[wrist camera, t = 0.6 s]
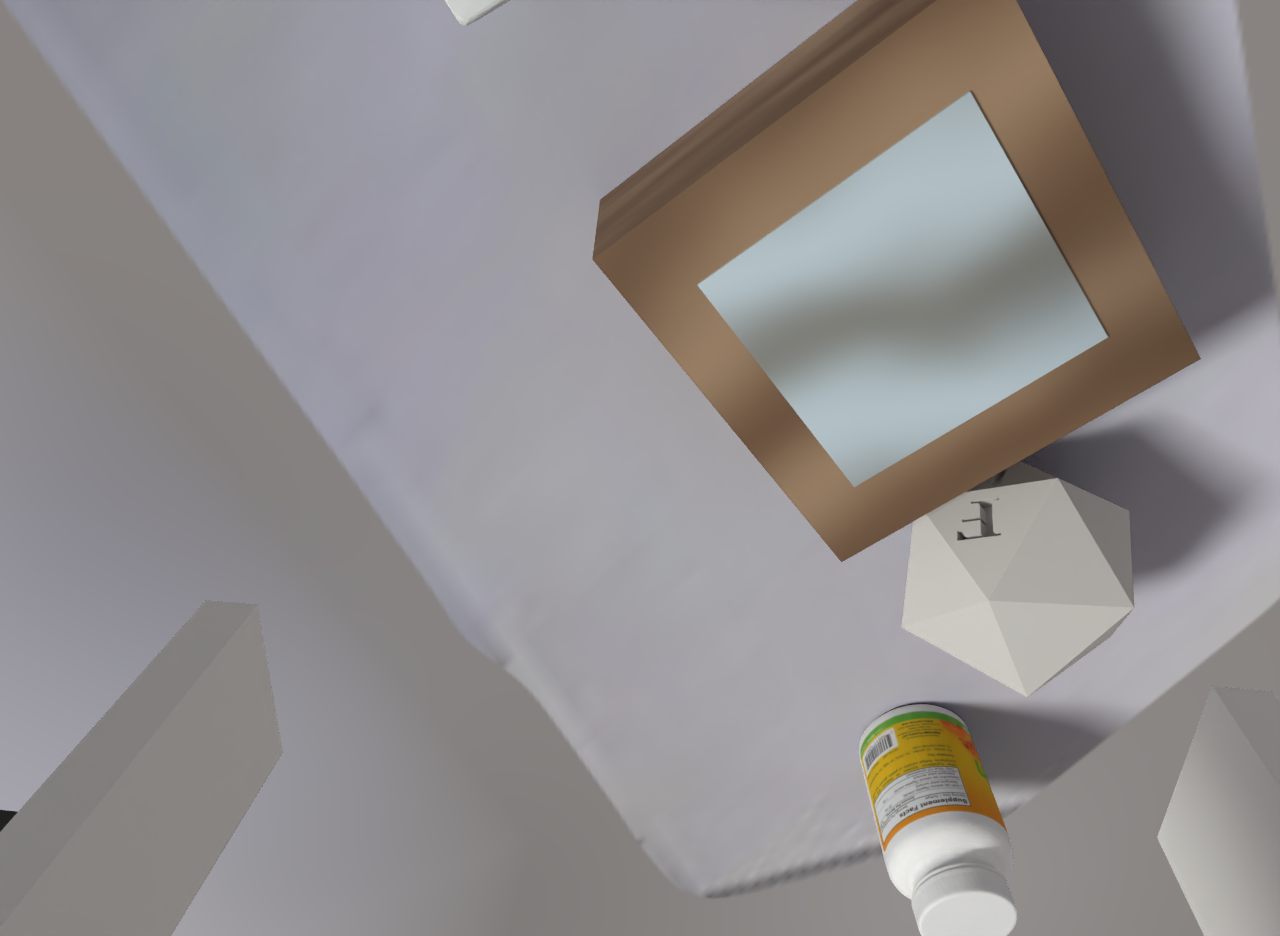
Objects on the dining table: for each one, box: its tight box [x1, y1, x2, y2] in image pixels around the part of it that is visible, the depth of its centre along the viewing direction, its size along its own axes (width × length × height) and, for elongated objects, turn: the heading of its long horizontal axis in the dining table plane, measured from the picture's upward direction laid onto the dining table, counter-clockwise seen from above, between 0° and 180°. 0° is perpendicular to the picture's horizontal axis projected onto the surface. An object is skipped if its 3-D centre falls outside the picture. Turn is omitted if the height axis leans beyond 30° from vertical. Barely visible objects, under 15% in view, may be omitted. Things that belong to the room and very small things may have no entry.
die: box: [902, 461, 1134, 697], centre depth 38 cm, size 8×9×10 cm
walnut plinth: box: [593, 0, 1201, 562], centre depth 32 cm, size 14×13×6 cm
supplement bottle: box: [859, 704, 1017, 936], centre depth 44 cm, size 5×5×10 cm
